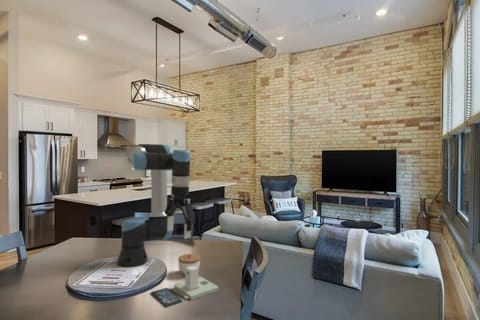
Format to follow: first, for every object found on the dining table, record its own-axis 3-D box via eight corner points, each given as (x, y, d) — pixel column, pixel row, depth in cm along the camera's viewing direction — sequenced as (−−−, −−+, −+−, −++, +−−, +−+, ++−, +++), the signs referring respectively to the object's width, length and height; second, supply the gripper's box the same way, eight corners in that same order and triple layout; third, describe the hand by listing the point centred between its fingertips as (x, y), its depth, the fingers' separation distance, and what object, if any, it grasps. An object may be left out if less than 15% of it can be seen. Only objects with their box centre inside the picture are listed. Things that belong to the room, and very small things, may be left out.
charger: (184, 290, 127) (185, 267, 127) (192, 287, 130) (193, 265, 130) (189, 293, 125) (190, 270, 124) (197, 291, 127) (198, 268, 127)
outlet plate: (174, 287, 130) (174, 284, 130) (200, 279, 139) (200, 276, 139) (191, 300, 119) (191, 296, 119) (218, 290, 129) (218, 286, 129)
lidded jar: (178, 278, 140) (179, 258, 140) (177, 269, 150) (177, 251, 150) (201, 276, 143) (201, 257, 143) (198, 268, 153) (198, 250, 153)
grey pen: (167, 289, 128) (167, 287, 128) (169, 288, 129) (169, 286, 129) (186, 299, 119) (186, 297, 119) (188, 298, 120) (188, 296, 120)
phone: (150, 295, 123) (150, 291, 123) (166, 290, 128) (166, 287, 128) (166, 308, 113) (166, 305, 113) (182, 303, 118) (182, 300, 118)
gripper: (158, 182, 133) (156, 229, 134) (189, 190, 115) (187, 243, 116) (172, 182, 138) (170, 226, 139) (204, 188, 120) (202, 240, 121)
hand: (178, 234), depth 127 cm, fingers open, 13 cm apart
